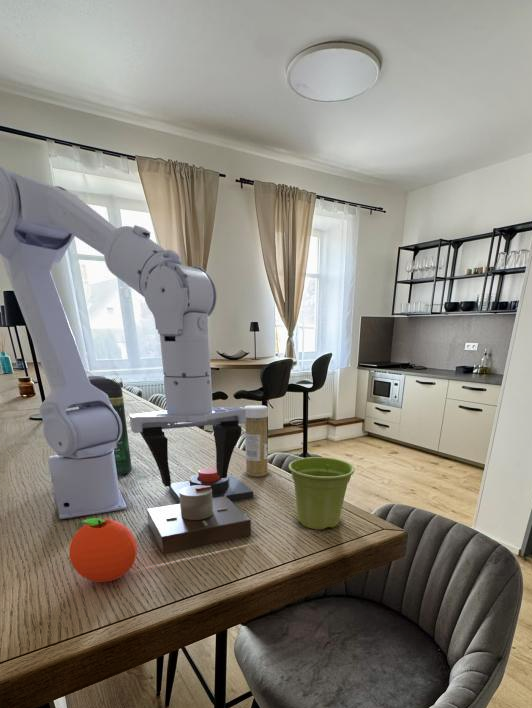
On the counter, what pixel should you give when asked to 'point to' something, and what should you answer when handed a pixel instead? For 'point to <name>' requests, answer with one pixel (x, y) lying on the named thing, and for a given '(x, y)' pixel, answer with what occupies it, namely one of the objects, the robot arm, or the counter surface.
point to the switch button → (208, 475)
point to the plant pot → (320, 489)
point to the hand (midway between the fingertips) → (195, 480)
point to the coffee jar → (117, 403)
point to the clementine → (102, 550)
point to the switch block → (216, 488)
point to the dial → (196, 502)
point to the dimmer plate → (197, 526)
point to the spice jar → (256, 440)
